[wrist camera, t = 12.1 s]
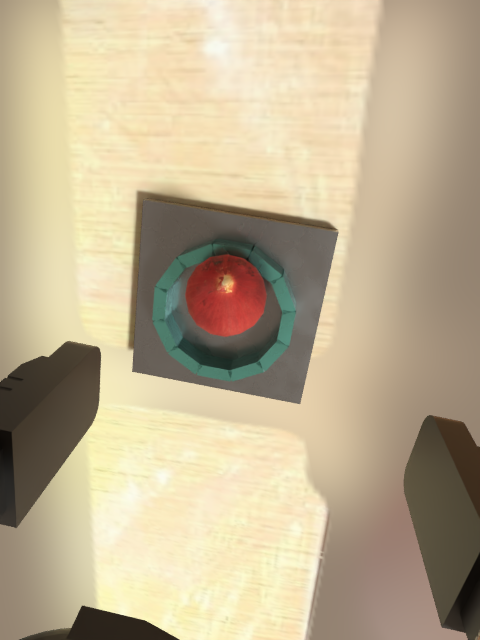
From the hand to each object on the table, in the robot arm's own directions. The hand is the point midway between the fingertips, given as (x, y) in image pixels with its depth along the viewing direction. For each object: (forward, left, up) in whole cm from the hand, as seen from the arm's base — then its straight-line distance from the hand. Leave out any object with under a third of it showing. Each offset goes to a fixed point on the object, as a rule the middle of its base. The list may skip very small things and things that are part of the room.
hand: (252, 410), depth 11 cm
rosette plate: (+7, -4, -26) cm, 27 cm away
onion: (+7, -4, -25) cm, 26 cm away
